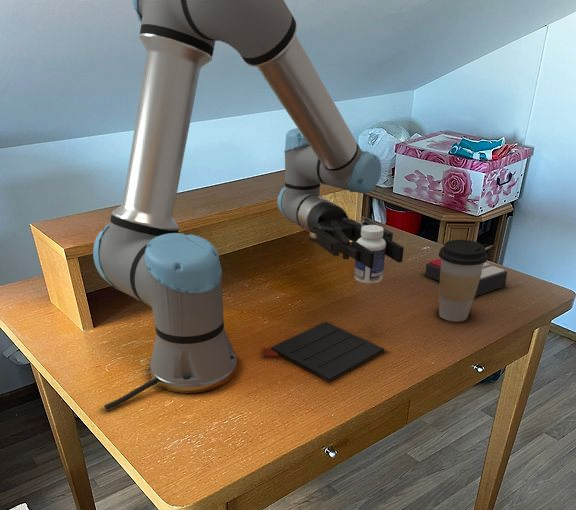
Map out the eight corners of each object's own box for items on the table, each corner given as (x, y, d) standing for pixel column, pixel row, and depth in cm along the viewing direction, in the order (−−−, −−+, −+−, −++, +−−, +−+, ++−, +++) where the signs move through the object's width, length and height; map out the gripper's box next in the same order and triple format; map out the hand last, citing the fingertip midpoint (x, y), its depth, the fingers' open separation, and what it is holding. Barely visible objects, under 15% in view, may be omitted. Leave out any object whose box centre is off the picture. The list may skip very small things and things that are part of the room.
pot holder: (319, 387, 103) (320, 383, 102) (258, 353, 112) (258, 349, 111) (383, 352, 113) (384, 347, 112) (322, 323, 122) (322, 319, 122)
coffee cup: (477, 327, 121) (491, 257, 112) (429, 323, 122) (440, 253, 114) (474, 307, 128) (487, 239, 120) (430, 303, 130) (439, 236, 122)
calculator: (459, 251, 146) (508, 268, 135) (457, 268, 148) (505, 286, 137) (425, 260, 141) (474, 279, 130) (424, 277, 143) (472, 297, 132)
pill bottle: (383, 274, 114) (388, 224, 109) (381, 285, 110) (386, 234, 105) (355, 272, 115) (358, 222, 110) (352, 283, 111) (356, 232, 105)
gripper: (360, 231, 128) (426, 269, 111) (282, 244, 121) (340, 286, 104) (363, 195, 124) (432, 229, 107) (282, 207, 117) (342, 245, 100)
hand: (386, 257), depth 105 cm, fingers closed on pill bottle, 5 cm apart
